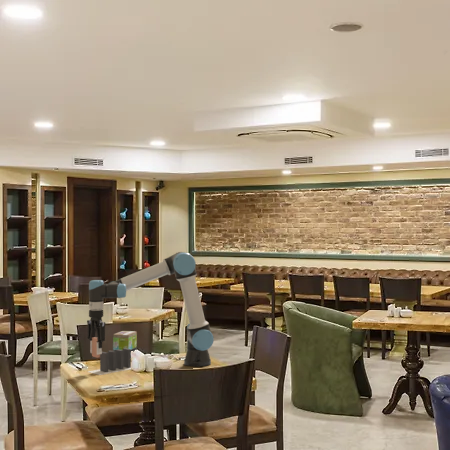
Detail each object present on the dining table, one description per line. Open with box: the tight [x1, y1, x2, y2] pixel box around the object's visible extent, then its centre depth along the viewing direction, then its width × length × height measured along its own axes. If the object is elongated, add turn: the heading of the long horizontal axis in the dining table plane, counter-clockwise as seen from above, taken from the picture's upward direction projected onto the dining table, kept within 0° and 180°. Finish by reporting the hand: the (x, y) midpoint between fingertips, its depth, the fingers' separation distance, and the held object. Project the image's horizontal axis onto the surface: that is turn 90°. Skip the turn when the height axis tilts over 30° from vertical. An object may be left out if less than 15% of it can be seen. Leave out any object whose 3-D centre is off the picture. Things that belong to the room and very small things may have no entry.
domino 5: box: [123, 348, 132, 368], centre depth 383 cm, size 5×2×10 cm, turn 45°
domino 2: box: [99, 351, 108, 372], centre depth 372 cm, size 5×2×10 cm, turn 45°
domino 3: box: [107, 350, 116, 371], centre depth 375 cm, size 5×2×10 cm, turn 45°
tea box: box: [112, 330, 138, 351], centre depth 414 cm, size 15×10×15 cm
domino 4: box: [115, 349, 123, 369], centre depth 379 cm, size 5×2×10 cm, turn 45°
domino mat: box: [87, 367, 132, 376], centre depth 375 cm, size 12×24×1 cm, turn 135°
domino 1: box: [91, 336, 100, 359], centre depth 368 cm, size 5×2×10 cm, turn 45°
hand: (96, 353), depth 368 cm, fingers closed on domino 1, 5 cm apart
